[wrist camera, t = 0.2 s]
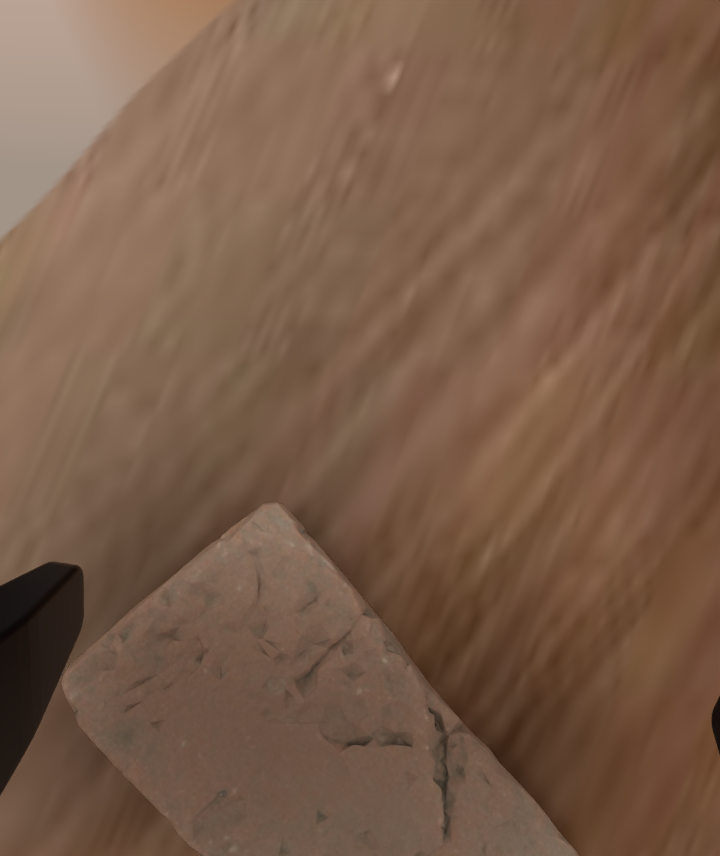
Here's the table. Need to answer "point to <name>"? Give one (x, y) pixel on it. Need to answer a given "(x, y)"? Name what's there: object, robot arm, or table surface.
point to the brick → (291, 716)
